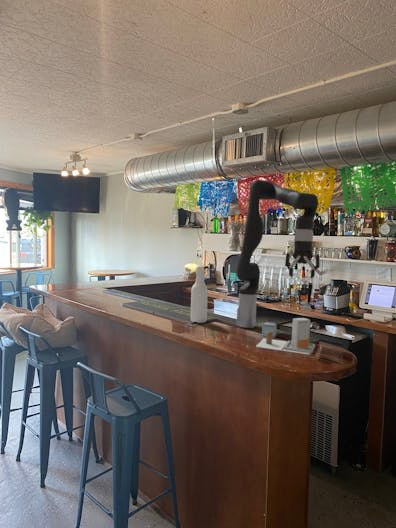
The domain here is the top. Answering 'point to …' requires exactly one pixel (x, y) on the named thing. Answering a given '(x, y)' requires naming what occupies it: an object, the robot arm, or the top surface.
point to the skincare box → (300, 333)
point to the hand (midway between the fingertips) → (301, 277)
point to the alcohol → (199, 298)
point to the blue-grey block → (269, 328)
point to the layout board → (283, 345)
